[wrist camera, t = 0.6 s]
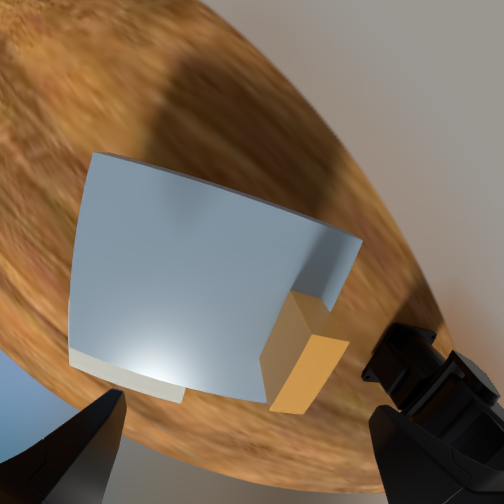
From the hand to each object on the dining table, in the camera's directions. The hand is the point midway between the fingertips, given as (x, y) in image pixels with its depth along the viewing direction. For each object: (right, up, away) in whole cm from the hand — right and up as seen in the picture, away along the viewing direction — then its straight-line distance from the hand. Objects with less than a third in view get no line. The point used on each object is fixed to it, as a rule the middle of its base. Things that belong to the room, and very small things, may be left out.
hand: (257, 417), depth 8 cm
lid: (-3, +4, +6) cm, 8 cm away
